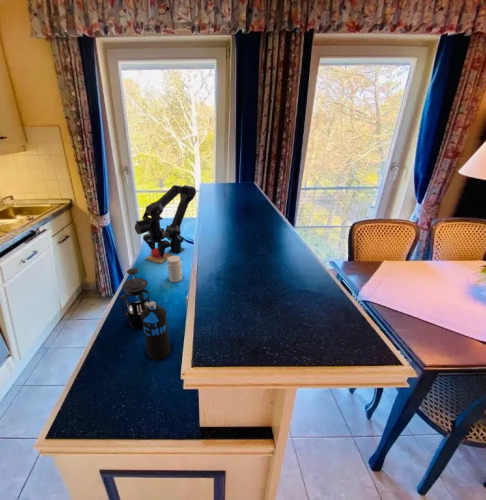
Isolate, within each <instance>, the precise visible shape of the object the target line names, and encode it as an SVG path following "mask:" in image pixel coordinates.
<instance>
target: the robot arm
mask: <svg viewBox="0 0 486 500" xmlns="http://www.w3.org/2000/svg"><path fill="white" fill-rule="evenodd" d="M196 194H197V190H196V188H195V186H191V185H187V184H185V185H183V186H181V185H177V184H174V185H172V186H171V188H170V189H168V190H167V191H166V192H165V194H163V195H162V196H161V197H160V198H159V199H158V200H156V201H154V202H151V203H150V204H148V205H147V206H146V207H145V210H144V213H143V215H142V217H141V219H140V220H136V221H135V223H134V231H135V233H136V234H137V235H142V234H144V235H143V236H142V240H143V241H144V242H145V243H146V245H147V246H148V247H149V248H150V251H151V250H152V249H155V248H157V249H158V252H159V254H160V256H161V257H163V255H164V252H165V253H166V249H168V248H170V249H169V250H168V253H169V252H170V253H174V254H180V253H181V252H183V250H185V249H184V248H183V247H182V243H184V239H185V238H184V237H183V236H181V233H182V232H181V231H182V230H181V226H182V223H183V219H184V218H185V214H186V212H187V209H188V206H189V203H190V202H192V201H193V200H194V198H195V196H196ZM178 195H179V196H180V197H179V198H180V200H179V203H178V206H177V208H176V211H175V214H174V217H173V219H172V222H171V223H170V225H169V224H167V225H166V228H165V229H164V228H163V227H162V228H161V220H164V218H163V217H162V216H161V215H162V214H163V212H164V208H165V207H166V206H167V205H169V204H170V203H171V202H172V201H173V200H174V199H175V198H176V197H177V196H178ZM145 233H146V234H145ZM166 239H167V240H166ZM156 244H157V245H156ZM156 246H157V247H156Z"/></svg>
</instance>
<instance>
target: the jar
mask: <svg viewBox="0 0 486 500" xmlns="http://www.w3.org/2000/svg"><path fill="white" fill-rule="evenodd" d="M166 267H167V276H168V281H169V282H172V283H179V282H181V281H182V280H183V273H182V272H183V269H182V261H181V257H180V256H178V255H171V256H170V257H168V258H167V259H166Z"/></svg>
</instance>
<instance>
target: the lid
mask: <svg viewBox="0 0 486 500" xmlns="http://www.w3.org/2000/svg"><path fill="white" fill-rule="evenodd" d="M165 253H166V251H165V252H164V255H165ZM164 255H163V256H164ZM150 256H152V257H155V258H158V257H161V256H160V254H159V252H158V249H157V247H155V249H152V250H151V249H150Z"/></svg>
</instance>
